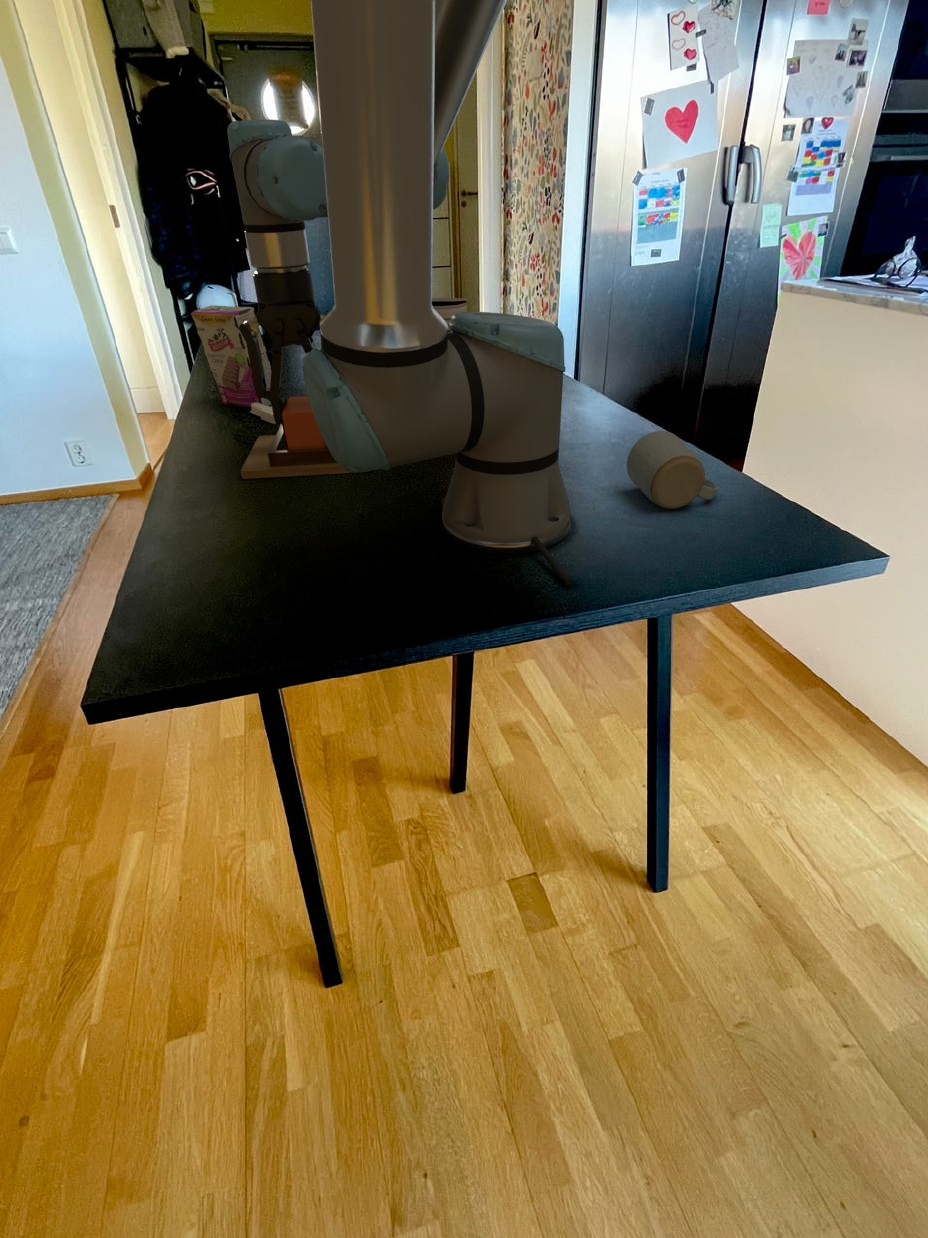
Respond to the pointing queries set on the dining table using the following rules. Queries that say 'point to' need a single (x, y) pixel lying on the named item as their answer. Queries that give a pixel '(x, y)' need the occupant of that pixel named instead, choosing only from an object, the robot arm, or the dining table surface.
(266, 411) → the corner connector
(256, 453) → the wooden board with frame
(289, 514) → the dining table surface
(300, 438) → the orange block
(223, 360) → the candy bar box
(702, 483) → the ceramic mug
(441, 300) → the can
